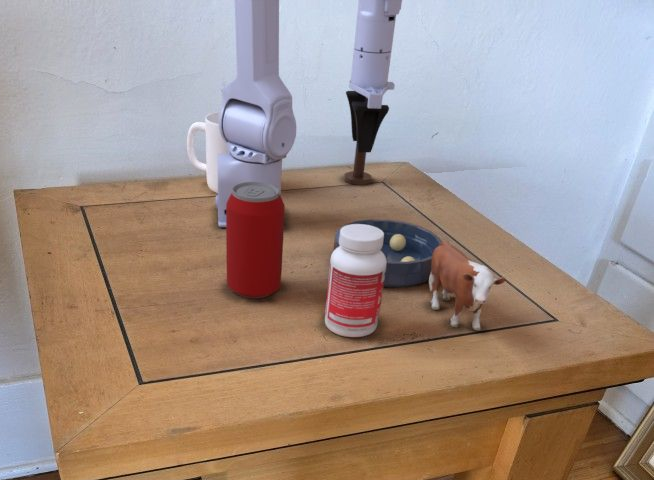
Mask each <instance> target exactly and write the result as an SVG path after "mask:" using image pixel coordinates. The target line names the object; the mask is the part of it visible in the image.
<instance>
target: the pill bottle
mask: <svg viewBox="0 0 654 480" xmlns="http://www.w3.org/2000/svg"><path fill="white" fill-rule="evenodd" d="M345 225H346V224H345ZM343 226H344V225H343ZM343 226H341V227H342V228H341V227H340V228H341V230H340V237H339V245H340V246H339V247H338V248H336V249H335V250H334V251H333V250H332V253H331V255H330V259H329V260H330V261H329V271H328V280H327V291H326V302H325V311H324V324H325V326H326V327H327V329H328V330H329V331H331V332H332V333H333V334H336V335H337V336H341V337H346V338H362V337H366V336H369V335H372V333H374V332H375V331H376V329H377V327H378V323H379V317H380V311H381V306H382V305H381V304H382V299H383V291H384V287H383V285H384V278H385V272H386V264H387V261H386V257H385V255H384V254H383V252H382V251H381V250H380V249H381V248H382V246H383V240H384V233H383V231H382V230H380V229H379V228H377V227H374V226H370V225H365V224H351V225H346V226H344V227H343Z"/></svg>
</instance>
